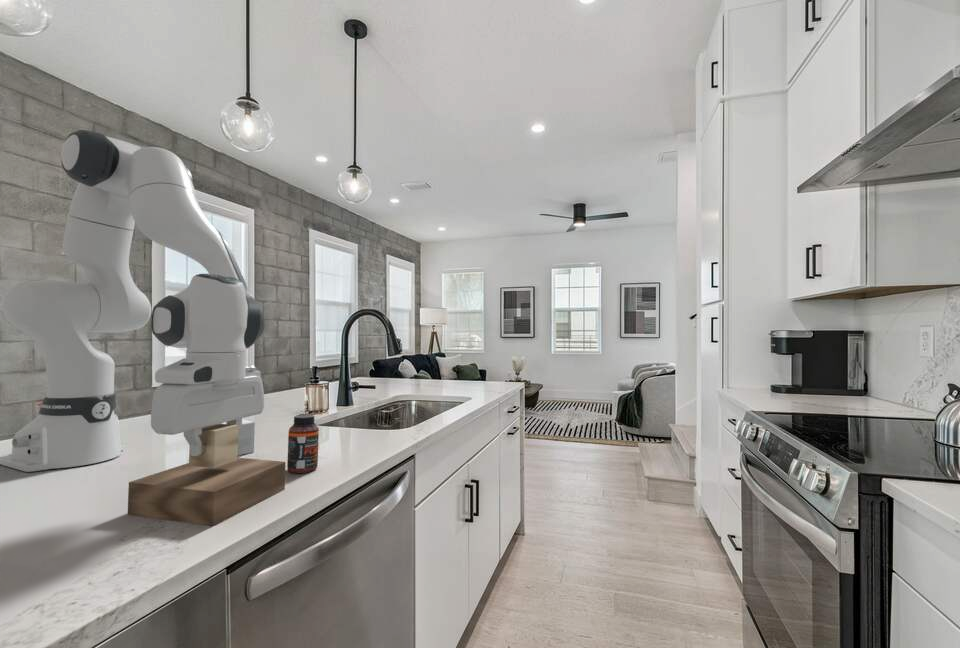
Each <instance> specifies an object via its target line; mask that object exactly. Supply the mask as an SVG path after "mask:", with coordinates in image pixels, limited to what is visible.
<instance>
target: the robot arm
mask: <svg viewBox="0 0 960 648" xmlns="http://www.w3.org/2000/svg"><path fill="white" fill-rule="evenodd" d="M60 152H61V153H60V155H61V159H60V161H61V166H62V170H63V171H64V172H65V174H66V175H67V176H68V177H69V179H72V180H74V181H76V182H78V183H77V184H78V185H77V187H76V189H75V192H74V193H73V197H72V200H71V202H70V206H69V211H68V215H67V218H66V219H67V220H66V224H65V228H64V229H65V230H64V234H63V239H62V245H61V246H62V247H61V248H62V251H63V253H64V255H65V256H66V258H68V259H69V260H70V261H71V262H73V263H74V264H76V265H78V266H79V267H82V268H83V269H84V271H85V272H86V278H87V279H86V282H84V283H83V282H75V281H65V280H64V281H62V280H53V279H40V280H39V279H38V280H25V281H18V282H16V283H14V284H13V285H12V286H11V287H9V289H8V290H7V291H6V293H4V296H3V298H2V303H1V308H2V312H3V314H4V317H5V318H6V320H7V321H8V322H9V323H10V324H11V325H13V327H16V328H17V329H19V330H20V331H22V332H23V333H25V334H26V335H27V336H29V337H30V338H31V339H32V340H33V341H34V342H35V344H36V345H37V347H38V348H39V349H40V351H41V352H42V355H43V358H44V362H45V369H46V371H45V372H46V396H45V397H44V398H43V399H38V400H37V402H40V403H37V406H40V408H39V410H38V414H39V415H37V416H36V417H35V418H34V419H33V420H31V422H29V423H27V424H26V425H25V426H23V427H22V428H21V429H20V430H18V431H17V432H16V433H15V434H14V436H13V438H12V440H11V444H12V445H11V446H12V447H11V448H12V449H11V453H8V454H5V455H2V456H0V465H2V466H5V467H8V468H12V469H15V470H18V471H23V472H25V473H27V472H28V473H29V472H30V473H31V472H39V471H45V470H52V469H62V468H63V469H65V468H73V467H80V466H86V465H92V464H97V463H102V462H105V461H109V460H111V459H112V460H113V459H115V458H117V457H119V456H121V454H122V451H124V450H125V445H124V444H121V435H120V424H119V417H118V415H117V414H115V409H116V408H117V402H118V401H117V400H118V399H117V393H115V372H116V370H115V367H116V363H115V361H114V359H113V358H112V357H111V356H110V355H109V353H106V352H104V351H102V350H100V349H98V348H94V347H95V346H93V345H92V344H91V342H90V340H89V336H88V333H103V334H104V333H105V334H106V333H111V334H113V333H114V334H119V333H125V332H130V331H131V332H132V331H135V330H141V329H142V328H144V326H145V325H146V324H147V323H148V322H149V320H150V318H151V320H150V321H151V322H150V323H151V324H150V325H151V331H152V334H153V335H154V337H155V338H156V339H157V340H158V341H159V342H160V343H162V344H163V345H164V346H165V347H171V348H178V349H179V348H180V349H186V351H185V357H184V358H181V359H179V360H177V361H175V362H173V363H171V364H168V365H165V366H163V367H161V368H158V369H157V370H156V371H155V374H154V375H155V376H154V379H155V382H156V383H157V384H159V385H158V386H157V387H156V388H155V390H154V392H153V395H152V399H151V400H152V401H151V409H150V412H151V413H150V427H151V429H152V430H153V432H155V434H158V435H168V436H173V435H178V434H182V433H183V437H184V439H185V441H186V442H187V443H188V445H189V447H190V455H191V456H199V455H202V454H205V453H206V443H202V442H201V440H200V438H199V436H198V435H201V434H202V428H203V427H207V426H211V425H216V424H220V423H224V422H226V424H230V425H239V427H238V431H239V429H240V427H241V425H242V419H243V418H244V419H245V418H248V417H249V418H250V417H252V416H256V415H261V414H262V412H263V411H264V408H265V393H264V391H265V390H264V384H263V380H262V378H261V377H262V373H261V371H260V370H259V369H258V368H257V367H256V366H255V365H248V366H247V365H246V363H247V349H249V348H250V347H252V346H253V345H255V344H256V343H257V342H258V340H259V339H260V338H261V337H262V335H263V333H264V331H265V328H266V327H265V324H266V323H265V316H264V314H263V312H262V310H261V308H260V306H259V304H258V303H257V302H256V300H255V299H254V297H253V295H252V294H251V292H250V290H249V287H248V285H247V283H246V280H245V278H244V276H243V273H242V272H241V270H240V267H239V265H238V262H237V260H236V258H235V256H234V253H233V251H232V249H231V246H230V245H229V243H228V240H226V238H225V236H224V235H223V233H221V232H220V231H219V230H218V229H217V227H215V226H214V225H213V224H212V223H211V221H210V220H209V219H208V218H207V216H206V214H205V213H204V211H203V210H202V208H201V206H200V203H199V200H198V197H197V193H196V189H195V186H194V178H193V175H192V173H191V171H190V169H189V168H188V167H187V166H186V165H185V164H184V162H183V161H182V159H181V158H180V157H179V155H176V154H175V153H174V152H172V150H171V151H170V150H168V149H165V148H162V147H158V146H147V147H146V146H142V145H140V144H134V143H131V142H129V141H128V142H127V141H125V140H121V139H118V138H113V137H110V136H105V134H103V133H101V132H97V131H93V130H87V129H78V130H76V131H74V132H71V133H69V135H68V136H67V137H66V139H65V140H64V142H63V144H62V147H61V151H60ZM135 225H136V227H137V228H138V230H139V231H140V232H141V233H142V234H143V235H144V236H145V237H146V238H148V239H149V240H150V241H152V242H154V243H156V244H158V245H160V246H162V247H165V248H167V249H169V250H172V251H174V252H177V253H179V254H181V255H184V256H186V257H188V258H190V259H192V260H193V261H195V262H197V263H198V264H200V265H201V266H202V267H203V268H204V269H205V270H206V271H207V273H199V274H195V275H193V276H192V277H191V280H190V282H189V285H188V286H187V287H186V288H184V289H183V290H181V291H180V292H178V293H175V294H173V295H171V294H169V295H166V296H165V297H163V298H162V299H160V301H158V302H157V303H156V304H155V305H154V306H153V308H152V305H151V301H150V300H149V298H148V297H147V296H146V294H145V293H143V292H142V291H141V290H140V289H139V287H137V285H136V284H135V282H134V279H133V277H132V275H131V271H130V253H131V246H132V240H133V236H134V230H135Z"/></svg>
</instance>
